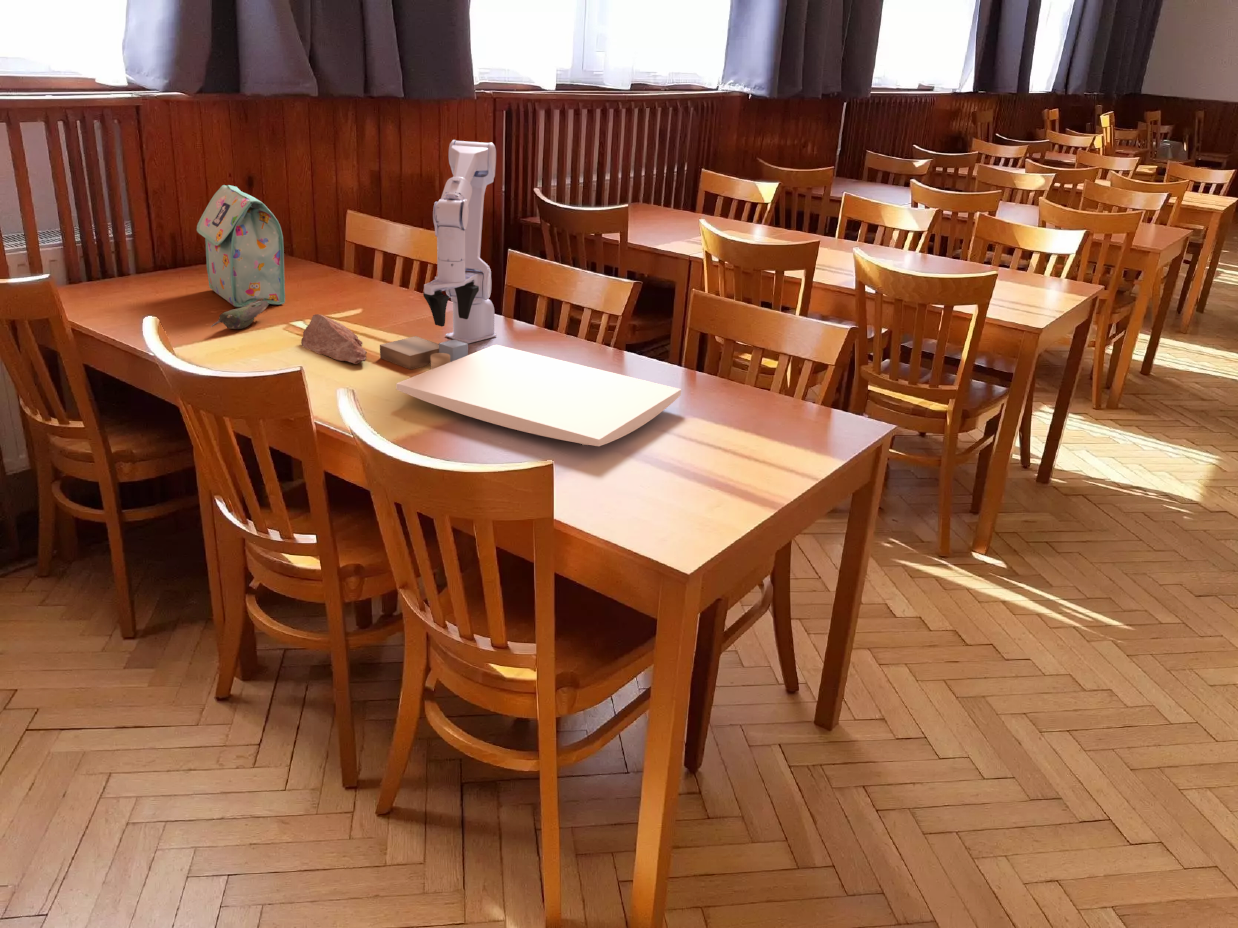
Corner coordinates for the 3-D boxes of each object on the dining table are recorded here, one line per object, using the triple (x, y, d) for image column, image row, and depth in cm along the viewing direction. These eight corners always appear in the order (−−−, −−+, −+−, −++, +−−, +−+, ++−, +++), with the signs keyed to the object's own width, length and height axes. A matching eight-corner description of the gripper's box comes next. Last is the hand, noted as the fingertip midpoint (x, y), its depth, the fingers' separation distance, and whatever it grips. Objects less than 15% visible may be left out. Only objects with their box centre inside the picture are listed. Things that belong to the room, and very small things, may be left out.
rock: (342, 365, 204) (370, 327, 205) (289, 339, 219) (316, 304, 221) (374, 392, 211) (401, 355, 213) (321, 364, 227) (347, 330, 229)
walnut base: (416, 349, 221) (415, 336, 219) (446, 359, 215) (445, 346, 214) (380, 358, 213) (379, 344, 212) (410, 369, 208) (409, 355, 206)
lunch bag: (200, 290, 254) (188, 183, 243) (264, 284, 263) (255, 181, 252) (227, 312, 238) (215, 199, 227) (294, 305, 247) (285, 196, 236)
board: (679, 411, 196) (681, 389, 194) (597, 464, 170) (599, 439, 168) (495, 365, 215) (495, 344, 213) (396, 406, 189) (396, 383, 187)
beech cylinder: (441, 374, 206) (441, 351, 204) (454, 379, 204) (454, 356, 202) (426, 378, 203) (426, 355, 201) (439, 383, 201) (439, 360, 199)
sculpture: (202, 336, 220) (200, 314, 218) (261, 316, 236) (260, 296, 234) (219, 339, 218) (216, 317, 216) (277, 319, 235) (275, 299, 233)
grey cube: (454, 358, 216) (454, 339, 215) (468, 363, 214) (467, 344, 212) (439, 362, 213) (438, 343, 211) (452, 367, 211) (452, 348, 209)
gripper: (459, 250, 212) (460, 311, 218) (412, 260, 201) (414, 324, 206) (485, 256, 209) (484, 317, 214) (438, 266, 197) (439, 331, 203)
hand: (451, 321), depth 210 cm, fingers open, 7 cm apart
